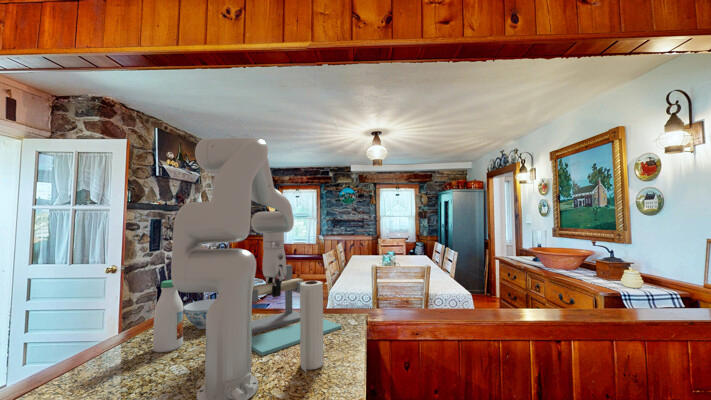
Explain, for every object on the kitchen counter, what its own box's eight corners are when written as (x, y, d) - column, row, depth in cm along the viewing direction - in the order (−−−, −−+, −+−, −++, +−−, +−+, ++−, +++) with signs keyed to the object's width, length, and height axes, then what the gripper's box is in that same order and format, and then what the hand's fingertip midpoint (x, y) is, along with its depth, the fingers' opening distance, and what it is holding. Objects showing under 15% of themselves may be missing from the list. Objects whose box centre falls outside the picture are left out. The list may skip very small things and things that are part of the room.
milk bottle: (168, 354, 87) (170, 283, 89) (146, 352, 89) (148, 283, 90) (188, 343, 95) (189, 278, 96) (167, 341, 96) (169, 278, 98)
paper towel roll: (313, 357, 84) (313, 279, 85) (328, 364, 79) (327, 281, 81) (291, 366, 78) (291, 283, 80) (305, 374, 74) (305, 286, 76)
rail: (303, 287, 119) (303, 279, 120) (244, 298, 103) (244, 289, 103) (298, 285, 122) (297, 278, 122) (239, 296, 105) (239, 287, 105)
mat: (341, 328, 106) (341, 325, 106) (262, 356, 85) (262, 352, 85) (318, 319, 115) (318, 317, 115) (242, 343, 94) (242, 339, 94)
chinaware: (195, 336, 100) (195, 312, 101) (175, 327, 109) (176, 305, 110) (236, 323, 112) (236, 302, 113) (215, 316, 121) (216, 297, 122)
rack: (307, 318, 117) (307, 266, 118) (247, 335, 100) (248, 274, 102) (293, 313, 124) (292, 264, 125) (235, 328, 107) (235, 271, 109)
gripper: (294, 246, 110) (294, 297, 109) (271, 244, 122) (271, 290, 121) (276, 247, 105) (275, 301, 104) (254, 245, 117) (253, 293, 115)
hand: (273, 294), depth 112 cm, fingers closed on rail, 3 cm apart
